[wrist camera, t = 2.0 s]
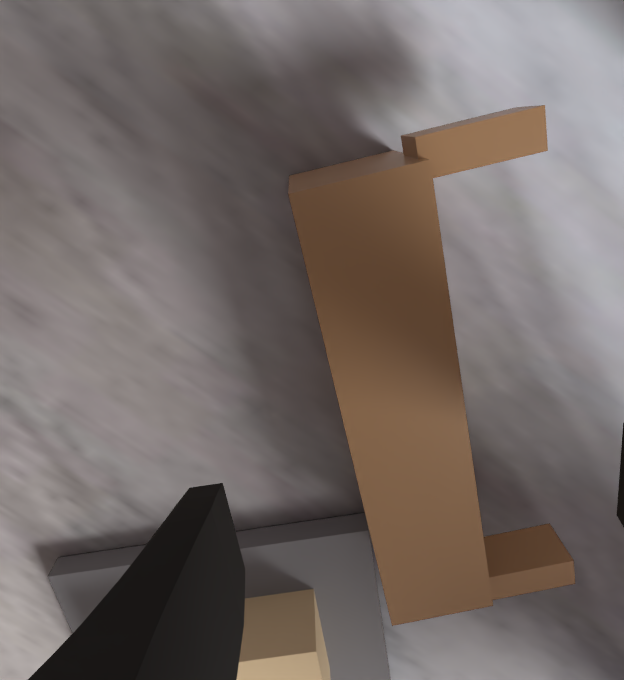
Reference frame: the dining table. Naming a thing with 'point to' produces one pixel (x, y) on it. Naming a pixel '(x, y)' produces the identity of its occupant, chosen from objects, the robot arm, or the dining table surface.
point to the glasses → (414, 367)
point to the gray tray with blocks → (276, 599)
